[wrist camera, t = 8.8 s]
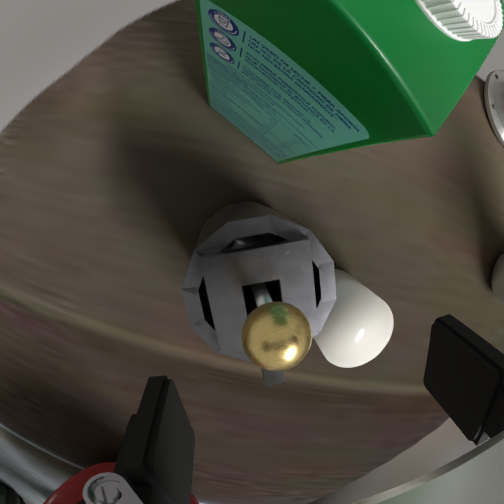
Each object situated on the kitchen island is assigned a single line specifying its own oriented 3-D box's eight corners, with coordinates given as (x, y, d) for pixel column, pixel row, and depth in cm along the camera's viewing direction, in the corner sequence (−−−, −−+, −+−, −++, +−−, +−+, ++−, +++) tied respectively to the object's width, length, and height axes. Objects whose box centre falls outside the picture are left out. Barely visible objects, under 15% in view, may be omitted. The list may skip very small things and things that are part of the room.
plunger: (275, 218, 27) (349, 272, 12) (284, 281, 29) (351, 390, 13) (208, 229, 27) (193, 301, 11) (220, 293, 29) (225, 417, 13)
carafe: (286, 194, 30) (332, 207, 17) (300, 309, 32) (342, 379, 20) (188, 211, 29) (165, 235, 17) (212, 325, 32) (211, 406, 20)
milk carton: (279, 164, 29) (495, 134, 5) (207, 104, 27) (176, -113, 3) (336, 102, 28) (547, 3, 4) (269, 44, 26) (366, -153, 2)
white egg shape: (357, 262, 32) (394, 287, 24) (359, 320, 34) (391, 355, 26) (294, 275, 32) (317, 306, 24) (301, 334, 33) (322, 375, 26)
